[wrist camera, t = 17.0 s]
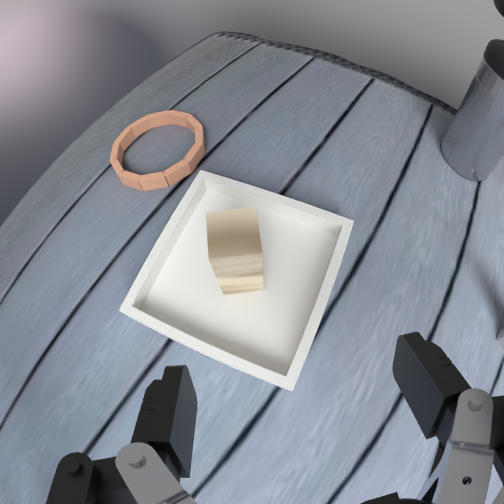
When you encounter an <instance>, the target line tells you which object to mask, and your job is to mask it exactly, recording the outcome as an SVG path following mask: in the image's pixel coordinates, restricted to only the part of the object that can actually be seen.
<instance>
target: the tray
mask: <svg viewBox="0 0 504 504" xmlns="http://www.w3.org/2000/svg"><path fill="white" fill-rule="evenodd" d="M250 207H256V211H257V218H258V225H259V232H260V239H261V246H262V255H263V281H264V290H260V291H252V292H244V293H236V294H227V295H224V294H223V292H222V289H221V287H220V285H219V283H218V280H217V278H216V276H215V273H214V271H213V268H212V266H211V264H210V261H209V259H208V243H207V225H206V213H211V212H218V211H226V210H234V209H242V208H250ZM353 223H354V221H353V220H350V219H348V218H345V217H342V216H339V215H337V214H334V213H331V212H328V211H326V210H323V209H320V208H317V207H314V206H311V205H309V204H306V203H303V202H300V201H297V200H294V199H291V198H288V197H285V196H282V195H279V194H276V193H273V192H270V191H267V190H264V189H261V188H258V187H255V186H252V185H248V184H245V183H242V182H239V181H236V180H232V179H229V178H226V177H223V176H219V175H216V174H213V173H209V172H206V171H203V170H200V172H199V173H198V175H197V176H196V178H195V180H194V181H193V183H192V184H191V186H190V187H189V189H188V191H187V192H186V194H185V195H184V197H183V199H182V200H181V202H180V203H179V205H178V207H177V208H176V210H175V212H174V213H173V215H172V217H171V218H170V220H169V222H168V223H167V225H166V227H165V228H164V230H163V232H162V233H161V235H160V237H159V238H158V240H157V242H156V244H155V245H154V247H153V249H152V251H151V252H150V254H149V256H148V258H147V259H146V261H145V263H144V265H143V267H142V268H141V270H140V272H139V274H138V276H137V278H136V279H135V281H134V283H133V285H132V287H131V289H130V291H129V292H128V294H127V296H126V298H125V300H124V302H123V304H122V306H121V308H120V310H119V311H121V312H122V313H124V314H126V315H127V316H129V317H130V318H132V319H134V320H136V321H138V322H140V323H141V324H143V325H145V326H147V327H149V328H151V329H153V330H155V331H157V332H158V333H160V334H162V335H164V336H166V337H168V338H170V339H172V340H174V341H176V342H178V343H180V344H182V345H184V346H186V347H189V348H191V349H193V350H195V351H197V352H199V353H201V354H203V355H205V356H208V357H210V358H212V359H214V360H216V361H219V362H221V363H223V364H225V365H228V366H230V367H232V368H234V369H237V370H239V371H241V372H244V373H246V374H249V375H251V376H253V377H256V378H258V379H261V380H263V381H266V382H268V383H271V384H273V385H276V386H278V387H281V388H283V389H286V390H289V391H293V388H294V386H295V384H296V381H297V379H298V377H299V374H300V372H301V369H302V367H303V365H304V362H305V360H306V357H307V355H308V352H309V350H310V347H311V345H312V342H313V339H314V337H315V334H316V332H317V329H318V326H319V324H320V321H321V318H322V316H323V313H324V310H325V307H326V305H327V302H328V299H329V296H330V294H331V291H332V288H333V285H334V282H335V279H336V276H337V273H338V270H339V267H340V264H341V261H342V258H343V255H344V252H345V249H346V246H347V243H348V239H349V236H350V233H351V230H352V227H353Z"/></svg>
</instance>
